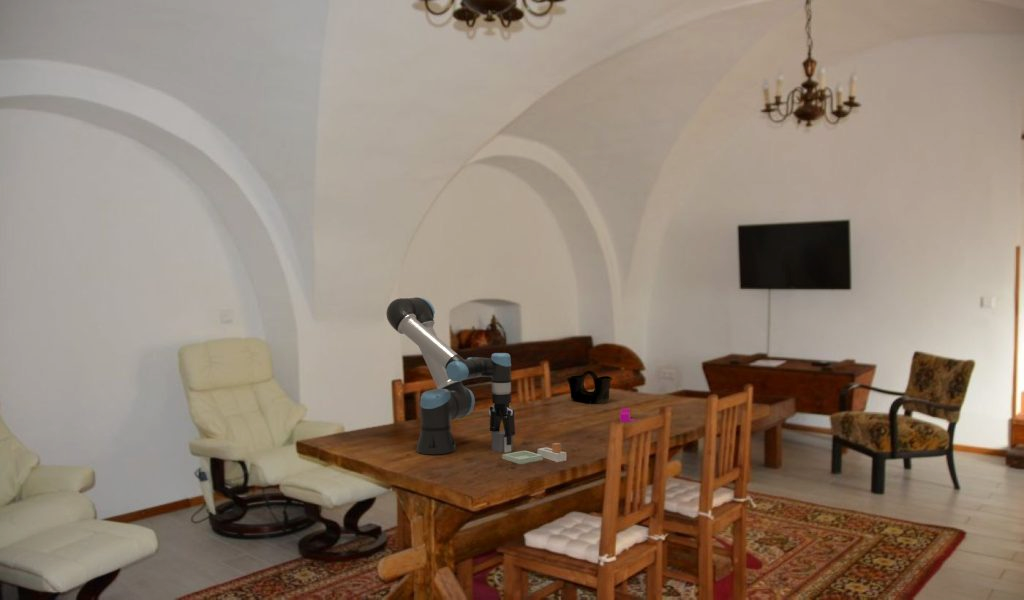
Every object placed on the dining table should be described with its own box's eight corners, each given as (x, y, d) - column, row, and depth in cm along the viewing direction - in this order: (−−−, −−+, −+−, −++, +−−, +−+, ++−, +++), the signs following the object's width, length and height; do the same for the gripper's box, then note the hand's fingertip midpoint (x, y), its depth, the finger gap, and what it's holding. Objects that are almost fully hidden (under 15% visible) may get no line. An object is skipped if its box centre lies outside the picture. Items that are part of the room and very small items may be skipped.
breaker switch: (556, 452, 289) (555, 444, 288) (552, 451, 290) (551, 443, 290) (561, 451, 290) (561, 443, 290) (557, 450, 292) (556, 442, 292)
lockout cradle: (519, 464, 283) (519, 459, 283) (502, 459, 292) (502, 454, 292) (542, 460, 290) (542, 455, 290) (525, 455, 298) (525, 450, 298)
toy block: (634, 431, 345) (634, 414, 345) (620, 430, 346) (620, 414, 346) (635, 424, 360) (635, 408, 360) (621, 424, 361) (621, 408, 361)
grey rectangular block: (500, 454, 301) (500, 434, 301) (491, 452, 306) (491, 431, 306) (513, 452, 304) (512, 432, 304) (504, 450, 309) (503, 430, 309)
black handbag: (616, 409, 403) (615, 371, 403) (607, 412, 394) (607, 373, 393) (573, 406, 416) (572, 368, 416) (563, 408, 407) (563, 371, 406)
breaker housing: (557, 462, 286) (557, 454, 286) (537, 456, 296) (537, 448, 296) (566, 460, 289) (566, 452, 289) (546, 455, 299) (546, 447, 299)
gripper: (524, 394, 299) (525, 454, 299) (495, 389, 315) (496, 446, 315) (508, 396, 294) (509, 457, 295) (479, 391, 310) (480, 448, 311)
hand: (502, 451), depth 305 cm, fingers open, 6 cm apart
